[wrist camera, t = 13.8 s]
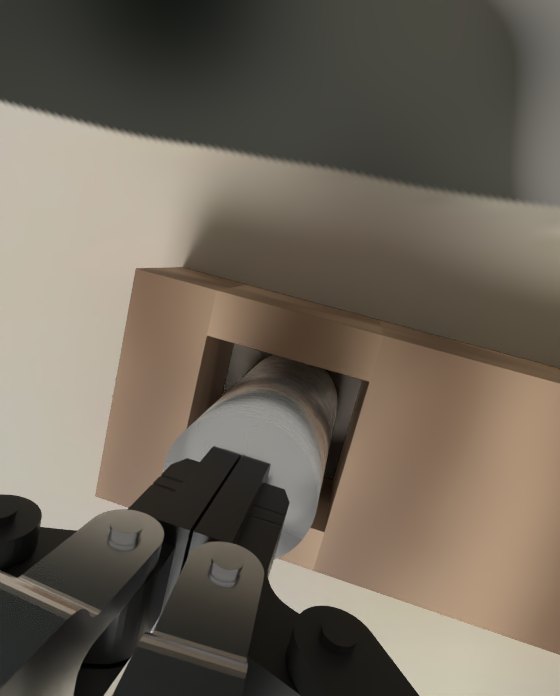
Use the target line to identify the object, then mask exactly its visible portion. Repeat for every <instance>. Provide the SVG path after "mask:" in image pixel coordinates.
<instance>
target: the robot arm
mask: <svg viewBox="0 0 560 696" xmlns="http://www.w3.org/2000/svg"><path fill="white" fill-rule="evenodd" d="M270 466H271V464H270V463H267V462H263V461H260V460H257V459H254V458H251V457H248V456H244V455H243V456H242V457H241V454H238V453H235V452H231V451H228V450H225V449H222V448H219V447H216V446H213V447H212V448H211V449H210V450H209V452H208V453H207V454H206V455H205V456H204V458H203V459H202V460H201V461H200V462H198V461H195V460H192V459H189V458H186V459H184V460H181V461H178V462H176V463H173V464H171V465H170V466H169V467H168V468H167V469H166V470H165V471H164V472H163V473H162V474H161V477H160V476H159V477H158V478H157V479H156V480H155V481H154V482H153V485H151V486H150V487H149V488H148V489H147V490H146V491H145V492H144V493H143V494H142V495H141V496H140V497H139V498H138V499H137V500H136V501H135V502H134V503H133V504H132V505H131V506H130V507H129V508H128V509H127V510H122V509H121V510H112V511H108V512H105V513H102V514H100V515H98V516H96V517H94V518H93V519H92V520H90V521H89V522H88V523H87V524H85V525H84V526H83V527H82V528H80V529H79V530H78V531H75V530H63V529H54V528H44V527H40V524H41V517H42V515H41V510H40V508H39V507H38V505H36V504H35V503H34V502H32V501H31V500H29V499H26V498H23V497H20V496H14V495H0V696H419V695H418V693H417V692H416V691H415V689H414V688H413V687H412V686H411V684H410V683H409V682H408V680H407V679H406V678H405V676H404V675H403V674H402V672H401V671H400V670H399V668H398V667H397V666H396V664H395V663H394V662H393V660H392V659H391V658H390V656H389V655H388V654H387V653H386V651H385V650H384V649H383V647H382V646H381V645H380V643H379V642H378V641H377V639H376V638H375V637H374V635H373V634H372V633H371V631H370V630H369V629H368V628H367V627H366V626H365V625H364V624H363V623H362V622H361V621H360V620H358V619H357V618H356V617H354V616H353V615H351V614H349V613H348V612H345V611H343V610H341V609H338V608H335V607H330V606H314V607H311V608H308V609H306V610H304V611H303V612H302V613H300V614H299V613H297V612H295V611H294V610H292V609H291V608H290V607H288V606H287V605H286V604H284V603H283V602H282V601H281V600H280V599H279V598H278V597H277V596H276V594H275V593H274V591H273V590H272V588H271V586H270V584H269V580H268V576H269V573H270V570H271V567H272V563H273V560H274V557H275V554H276V550H277V546H278V543H279V539H280V536H281V532H282V528H283V525H284V521H285V518H286V514H287V510H288V507H289V503H290V502H289V499H288V497H287V494H286V491H285V489H282V488H279V487H276V486H273V485H270V484H267V483H266V482H267V479H268V475H269V471H270ZM150 631H153V633H150Z"/></svg>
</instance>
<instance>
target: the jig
mask: <svg viewBox="0 0 560 696" xmlns="http://www.w3.org/2000/svg"><path fill="white" fill-rule="evenodd" d="M234 343H235V344H239V345H242V346H246V347H249V348H253V349H256V350H260V351H263V352H267V353H270V354H274V355H277V356H281V357H284V358H288V359H291V360H295V361H298V362H302V363H305V364H309V365H312V366H316V367H319V368H323V369H326V370H330V371H333V372H337V373H341V374H344V375H348V376H351V377H355V378H358V379H362V383H361V387H360V390H359V393H358V397H357V400H356V403H355V407H354V410H353V414H352V417H351V420H350V424H349V427H348V430H347V434H346V437H345V441H344V444H343V447H342V451H341V454H340V457H339V461H338V464H337V468H336V471H335V474H334V478H333V480H332V479H329V478H326V477H323V481H322V486H321V491H320V495H319V500H318V505H317V510H316V514H315V517H314V520H313V523H312V525H311V527H310V529H309V531H308V533H307V534H306V536H305V537H304V538H303V540H302V541H301V542H300V543H299V544H298V545H297V546H296V547H295V548H293V549H292V550H291V551H289V552H288V553H286V554H284V555H283V556H281V557H279V558H278V559H281V560H284V561H287V562H290V563H293V564H295V565H298V566H301V567H304V568H307V569H310V570H313V571H316V572H319V573H322V574H325V575H328V576H331V577H334V578H336V579H339V580H342V581H345V582H348V583H351V584H354V585H357V586H360V587H363V588H366V589H369V590H372V591H375V592H378V593H380V594H383V595H386V596H389V597H392V598H395V599H398V600H401V601H404V602H407V603H410V604H413V605H416V606H419V607H421V608H424V609H427V610H430V611H433V612H436V613H439V614H442V615H445V616H448V617H451V618H454V619H457V620H460V621H463V622H465V623H468V624H471V625H474V626H477V627H480V628H483V629H486V630H489V631H492V632H495V633H498V634H501V635H504V636H506V637H509V638H512V639H515V640H518V641H521V642H524V643H527V644H530V645H533V646H536V647H539V648H542V649H545V650H548V651H550V652H553V653H556V654H559V655H560V368H556V367H552V366H549V365H545V364H541V363H538V362H534V361H530V360H526V359H523V358H519V357H515V356H511V355H508V354H504V353H500V352H496V351H493V350H489V349H485V348H481V347H478V346H474V345H470V344H467V343H463V342H459V341H455V340H452V339H448V338H444V337H440V336H437V335H433V334H429V333H425V332H422V331H418V330H414V329H410V328H407V327H403V326H399V325H396V324H392V323H388V322H384V321H381V320H377V319H373V318H369V317H366V316H362V315H358V314H354V313H351V312H347V311H343V310H339V309H336V308H332V307H328V306H325V305H321V304H317V303H313V302H310V301H306V300H302V299H298V298H295V297H291V296H287V295H283V294H280V293H276V292H272V291H268V290H265V289H261V288H257V287H254V286H250V285H246V284H242V283H239V282H235V281H231V280H227V279H224V278H220V277H216V276H212V275H209V274H205V273H201V272H198V271H194V270H190V269H186V268H183V267H177V268H136V271H135V276H134V282H133V288H132V293H131V299H130V304H129V310H128V315H127V321H126V327H125V332H124V338H123V343H122V349H121V355H120V360H119V366H118V371H117V377H116V383H115V388H114V394H113V399H112V405H111V411H110V416H109V422H108V427H107V433H106V439H105V444H104V450H103V455H102V461H101V467H100V472H99V478H98V483H97V489H96V495H95V496H96V497H99V498H102V499H105V500H108V501H111V502H114V503H117V504H120V505H123V506H125V507H128V508H129V507H130V506H131V505H132V504H133V503H134V502H135V501H136V500H137V499H138V498H139V497H140V496H141V495H142V494H143V493H144V492H145V491H146V490H147V489H148V488H149V487H150V486H151V485H153V482H154V481H155V480H156V479H157V478H158V477H159V476H160V477H161V474H162V473H163V467H164V463H165V459H166V457H167V454H168V452H169V450H170V448H171V447H172V445H173V443H174V442H175V441H176V439H177V438H178V437H179V436H180V435H181V434H182V433H183V432H184V431H185V430H186V429H187V428H188V427H189V426H190V425H191V424H193V423H194V422H195V421H196V420H197V419H198V418H199V417H200V416H201V415H202V414H203V413H204V412H206V411H207V410H208V409H209V408H210V407H211V406H212V405H213V404H214V403H215V402H216V401H218V400H219V399H220V398H221V397H222V392H223V388H224V384H225V379H226V375H227V371H228V366H229V362H230V358H231V353H232V349H233V345H234Z"/></svg>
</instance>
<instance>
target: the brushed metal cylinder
mask: <svg viewBox="0 0 560 696" xmlns="http://www.w3.org/2000/svg"><path fill="white" fill-rule="evenodd" d="M337 407H338V399H337V392H336V388H335V386H334V383H333V381H332V379H331V377H330V376H329V375H328V373H327V372H326V371H325V370H324V369H323V368H319V367H316V366H312V365H309V364H305V363H302V362H298V361H295V360H291V359H288V358H284V357H281V356H277V355H273V356H270V357H268V358H266V359H264V360H262V361H261V362H259V363H258V364H257V365H256V366H255V367H253V368H252V369H251V370H250V371H249V372H248V373H247V374H246V375H245V376H244V377H243V378H242V379H240V380H239V381H238V382H237V383H236V384H235V385H234V386H233V387H232V388H231V389H230V390H228V391H227V392H226V393H225V394H224V395H223V396H222V397H221V398H220V399H219V400H218V401H216V402H215V403H214V404H213V405H212V406H211V407H210V408H209V409H208V410H207V411H206V412H204V413H203V414H202V415H201V416H200V417H199V418H198V419H197V420H196V421H195V422H194V423H193V424H191V425H190V426H189V427H188V428H187V429H186V430H185V431H184V432H183V433H182V434H181V435H180V436H179V437H178V438H177V439H176V441H175V442H174V443H173V445H172V447H171V448H170V450H169V452H168V454H167V457H166V459H165V463H164V467H163V472H164V471H165V470H166V469H167V468H168V467H169V466H170V465H171V464H173V463H176V462H178V461H181V460H184V459H186V458H189V459H192V460H195V461H198V462H200V461H201V460H202V459H203V458H204V456H205V455H206V454H207V453H208V452H209V450H210V449H211V448H212V447H213V446H216V447H219V448H222V449H225V450H228V451H231V452H235V453H238V454H241V457H242V456H243V455H244V456H248V457H251V458H254V459H257V460H260V461H263V462H267V463H270V464H271V466H270V471H269V475H268V479H267V482H266V483H267V484H270V485H273V486H276V487H279V488H282V489H285V491H286V494H287V497H288V499H289V502H290V503H289V507H288V510H287V514H286V518H285V521H284V525H283V528H282V532H281V536H280V539H279V543H278V546H277V550H276V554H275V557H274V559H276V558H279V557H281V556H283V555H284V554H286V553H288V552H289V551H291V550H292V549H293V548H295V547H296V546H297V545H298V544H299V543H300V542H301V541H302V540H303V538H304V537H305V536H306V534H307V533H308V531H309V529H310V527H311V525H312V523H313V520H314V517H315V514H316V510H317V505H318V500H319V495H320V491H321V486H322V481H323V476H324V471H325V466H326V461H327V457H328V452H329V447H330V442H331V437H332V432H333V427H334V423H335V418H336V413H337Z"/></svg>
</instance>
